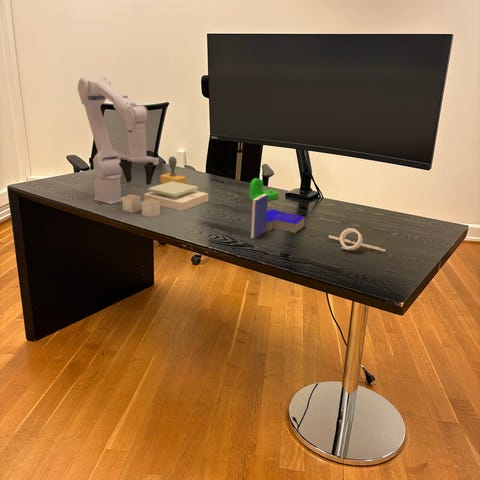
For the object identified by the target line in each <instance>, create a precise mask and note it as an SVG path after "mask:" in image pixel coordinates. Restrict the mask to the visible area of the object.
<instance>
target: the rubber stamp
mask: <svg viewBox="0 0 480 480" xmlns="http://www.w3.org/2000/svg"><path fill="white" fill-rule="evenodd" d="M168 165H169V168H170V172H171V173H170V172H169V173H164V174H161V175H160V184H164V183H168V182H171V181H174V182H178V183H183V184H186V183H187V179H186V176H185V175H184V176H183V175H180V174H176V173H175V169H176V167H177V158H176V157H175V156H169V158H168Z"/></svg>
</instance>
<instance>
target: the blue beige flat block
mask: <svg viewBox="0 0 480 480" xmlns="http://www.w3.org/2000/svg"><path fill="white" fill-rule="evenodd" d="M305 220H306V218H305V216H302V215H298V214H293V213H288V212H282V211H279V210H277V209H274V208H272V209H267V216H266V231H267V230H268V232H270V231H273V230H277V229H279V230H278V231H282V230H284V231H283V232H287V231H289V232H288V233H292V232H293V234H296V233H297V232H299V231H300V230H301V229H303V228H304V227H305ZM298 230H299V231H298Z"/></svg>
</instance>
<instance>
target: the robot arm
mask: <svg viewBox="0 0 480 480" xmlns="http://www.w3.org/2000/svg"><path fill="white" fill-rule="evenodd" d="M77 91H78V95H79V99H80V101H81V104H82V105H83V106H84V109H85V110H84V111H85V113H86V116H87V119H88V123H89V126H90V131H91V133H92V136H93V141H94V143H95V147H96V150H97V153H96V154H95V155H94V157H93V158H92V162H93V170H94V174H95V175H96V177H95V179H94V181H93V186H94V188H93V189H94V195H95V196H94V198H93V201H97V202H102V203H106V204H108V205H114V204H117V203H120V202H122V197H123V196H122V189H121V178H122V176H123V174H124V177H125V181H126V183H130V182H132V168H133V167H132V165H133V163H135V162H136V163H143V164H144V165H143V168H144V171H145V181H146V185H147V186H149V185H151V184H152V181H153V176H154V173H155V171H156V169H157V167H158V165H159V164H160V163H159V162H160V161H159V160H160V158H159V157H155V156H154V157H153V156H149V155H147V130H146V128H147V126H146V124H148V122H149V119H150V114H149V113H150V112H149V110H148V108H147V107H146V106H145V105H138V104H137V103H136V101H133V100H132V99H130V98H129V95H127V94H125V93H124V94H120V93H119V92H117V90H115V88H113V86H112V84H111V81H110V80H108V78H106V77H80V79H79V80H78V83H77ZM106 100H108V101H110V102H111V103H112V105H113V108H114V109H115V110H116V111H117V112H118V113H120V115H122V116H123V119H124V122H125V127H126V130H127V132H128V133H127V135H128V136H127V137H128V138H127V139H128V153H127V154H126V153H119V152H118V151H116V150H114V149H113V148H112V143H111V141H110V137H109V133H108V130H107V127H106V124H105V120H104V117H103V113H102V109H101V106H102V105H103V104H105V102H106Z"/></svg>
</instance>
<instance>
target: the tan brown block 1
mask: <svg viewBox="0 0 480 480" xmlns="http://www.w3.org/2000/svg"><path fill="white" fill-rule="evenodd" d="M121 197H122V201H121V203H122V210H123V211H124V212H129V213H135V212H138V211H142V206H141V202H142V201H141V196H140V195H135V194H131V193H130V194H128V195H127V194H126V195H124V196H121Z"/></svg>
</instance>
